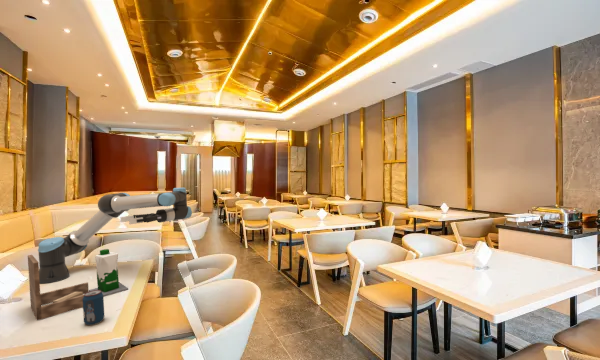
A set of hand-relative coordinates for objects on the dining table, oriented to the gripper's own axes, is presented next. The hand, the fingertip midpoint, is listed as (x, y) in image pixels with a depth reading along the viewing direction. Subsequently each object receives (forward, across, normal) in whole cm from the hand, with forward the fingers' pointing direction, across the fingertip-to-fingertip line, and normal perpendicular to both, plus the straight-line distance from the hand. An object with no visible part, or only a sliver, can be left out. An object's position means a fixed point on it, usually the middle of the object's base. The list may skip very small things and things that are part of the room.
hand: (124, 220), depth 162 cm
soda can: (+23, -34, -35) cm, 54 cm away
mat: (+9, 0, -35) cm, 36 cm away
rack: (+28, -3, -35) cm, 45 cm away
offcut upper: (+27, -5, -33) cm, 43 cm away
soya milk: (+9, 0, -34) cm, 36 cm away
